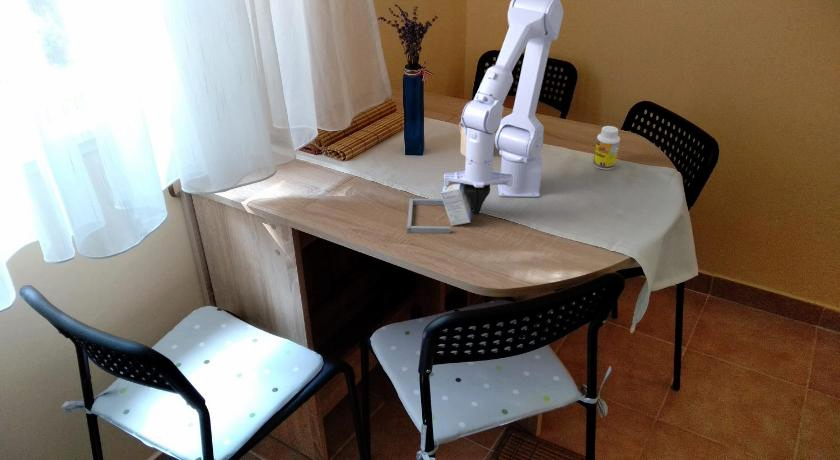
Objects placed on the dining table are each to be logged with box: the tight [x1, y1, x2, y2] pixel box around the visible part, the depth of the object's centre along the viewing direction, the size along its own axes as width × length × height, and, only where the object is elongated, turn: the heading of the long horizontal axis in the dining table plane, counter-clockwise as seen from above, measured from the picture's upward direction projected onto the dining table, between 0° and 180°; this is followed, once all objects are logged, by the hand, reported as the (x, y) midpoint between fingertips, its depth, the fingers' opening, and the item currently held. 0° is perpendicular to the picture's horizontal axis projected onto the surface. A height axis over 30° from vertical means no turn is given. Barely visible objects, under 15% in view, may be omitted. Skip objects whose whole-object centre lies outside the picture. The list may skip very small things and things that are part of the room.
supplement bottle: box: [592, 125, 621, 171], centre depth 159 cm, size 6×6×10 cm
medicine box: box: [440, 182, 474, 226], centre depth 138 cm, size 8×4×9 cm, turn 169°
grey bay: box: [406, 197, 451, 234], centre depth 141 cm, size 9×13×1 cm
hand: (476, 212), depth 140 cm, fingers closed
